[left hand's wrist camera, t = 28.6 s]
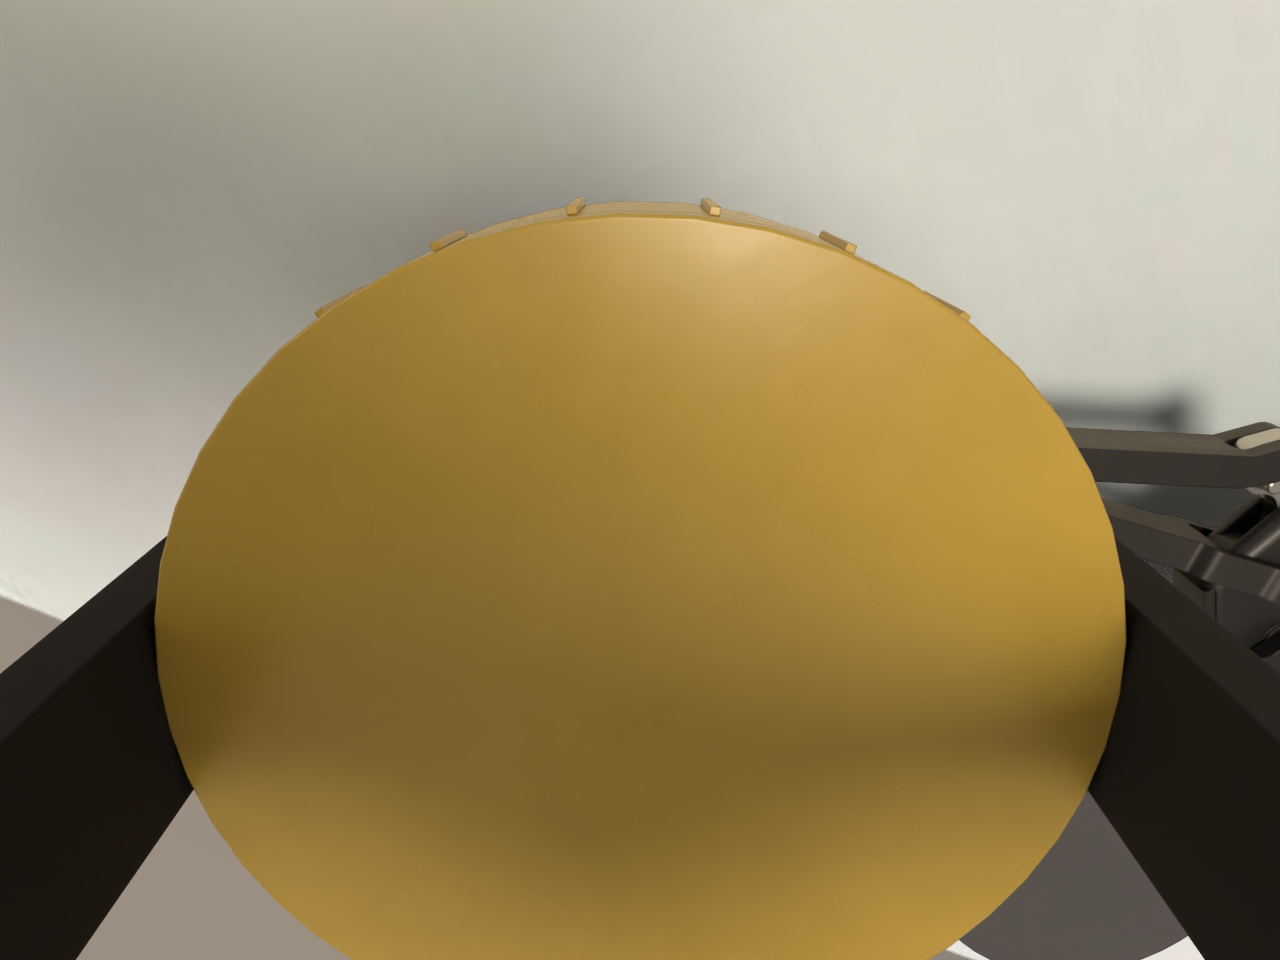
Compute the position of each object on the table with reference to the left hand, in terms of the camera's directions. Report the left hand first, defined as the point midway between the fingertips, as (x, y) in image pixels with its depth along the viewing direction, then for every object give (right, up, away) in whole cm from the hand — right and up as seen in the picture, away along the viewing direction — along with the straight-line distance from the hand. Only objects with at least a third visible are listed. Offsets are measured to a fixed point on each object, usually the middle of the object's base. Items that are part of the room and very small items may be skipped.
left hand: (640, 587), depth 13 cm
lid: (0, -1, -3) cm, 3 cm away
